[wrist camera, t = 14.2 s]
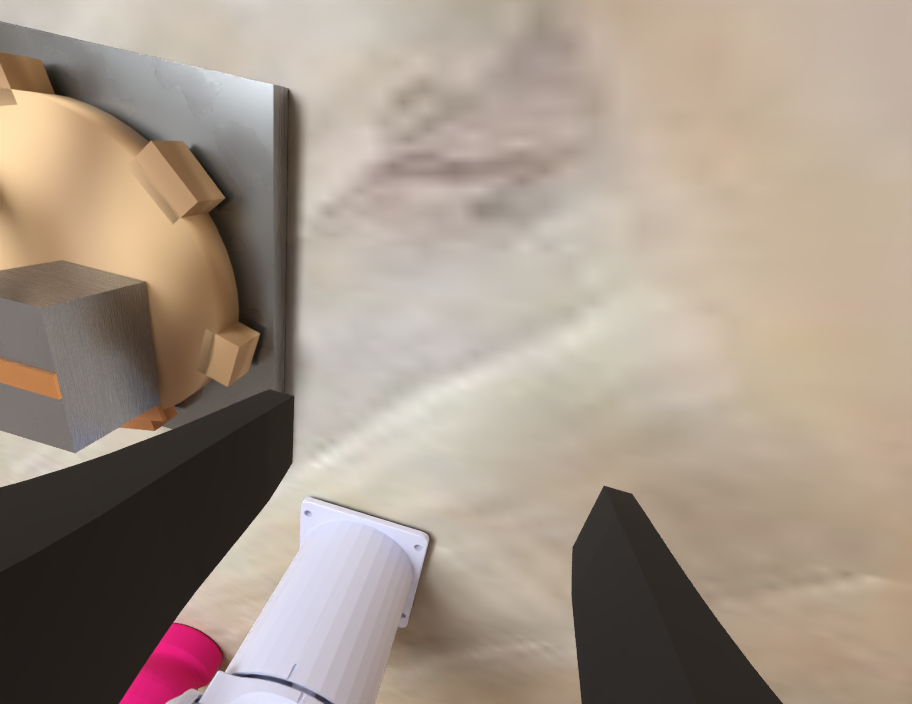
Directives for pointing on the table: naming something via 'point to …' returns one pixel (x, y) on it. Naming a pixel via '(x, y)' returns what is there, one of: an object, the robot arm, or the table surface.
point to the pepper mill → (175, 667)
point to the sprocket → (121, 226)
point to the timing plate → (219, 153)
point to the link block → (73, 353)
